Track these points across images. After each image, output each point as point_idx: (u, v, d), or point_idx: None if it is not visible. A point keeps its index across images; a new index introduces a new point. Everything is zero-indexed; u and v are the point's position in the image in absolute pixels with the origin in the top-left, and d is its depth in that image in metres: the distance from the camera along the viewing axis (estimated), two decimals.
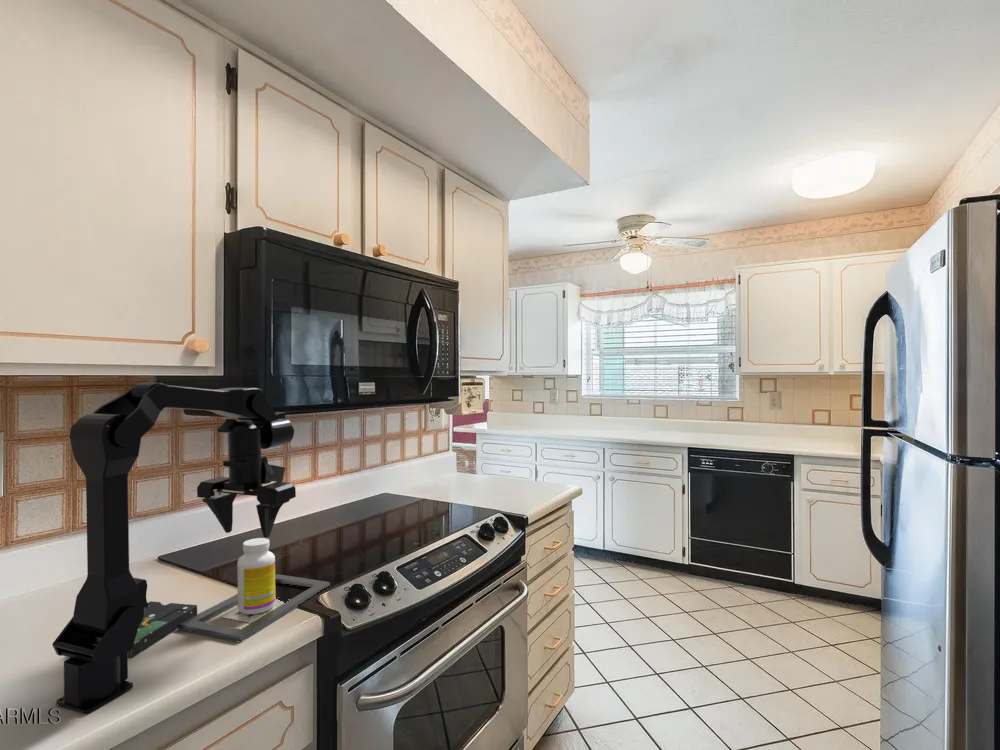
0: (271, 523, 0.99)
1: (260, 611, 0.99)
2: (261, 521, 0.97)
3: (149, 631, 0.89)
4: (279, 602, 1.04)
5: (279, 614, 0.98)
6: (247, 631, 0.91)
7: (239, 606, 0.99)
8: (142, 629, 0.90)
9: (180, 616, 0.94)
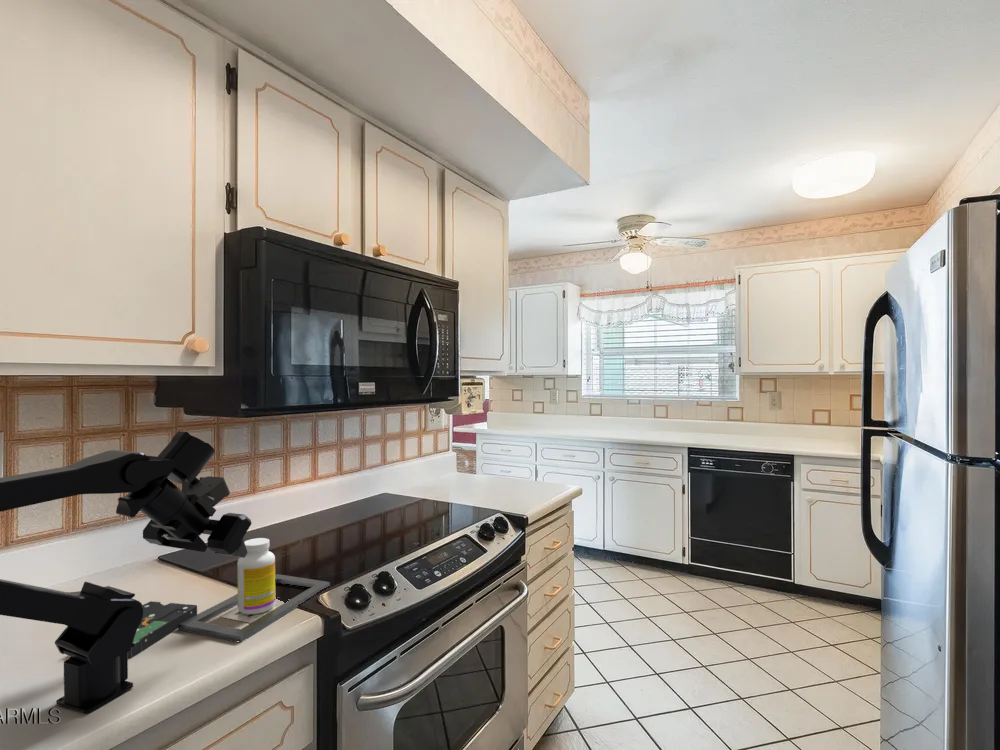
0: (242, 547, 0.91)
1: (260, 611, 0.99)
2: None
3: (149, 631, 0.89)
4: (279, 602, 1.04)
5: (279, 614, 0.98)
6: (247, 631, 0.91)
7: (239, 606, 0.99)
8: (142, 629, 0.90)
9: (180, 616, 0.95)
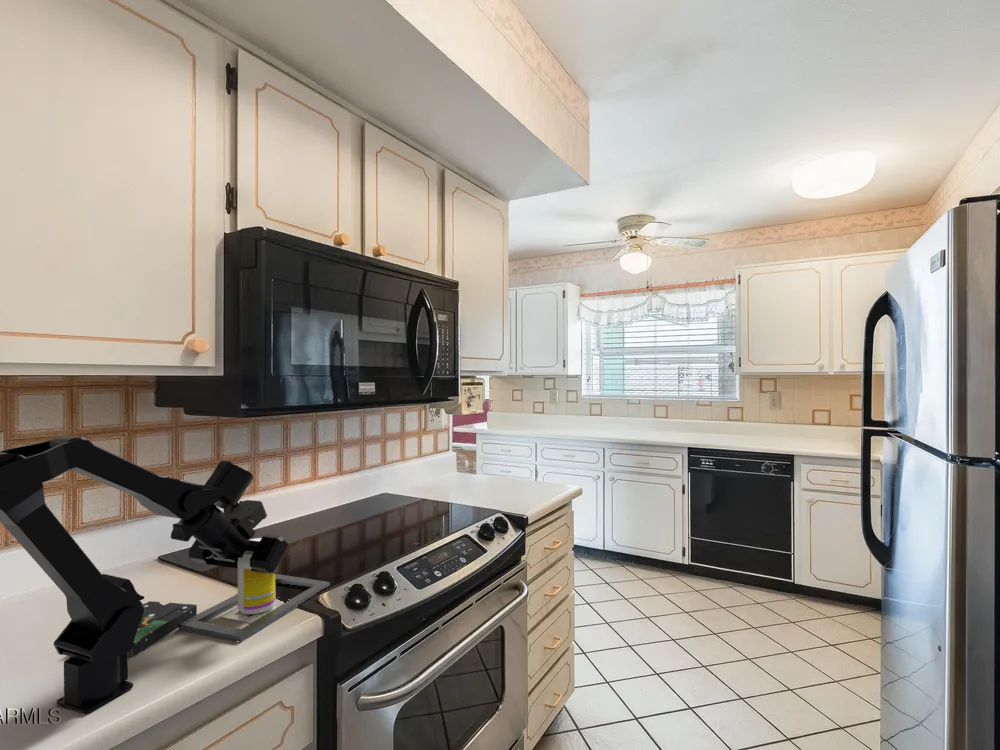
0: None
1: (260, 611, 0.99)
2: None
3: (149, 631, 0.89)
4: (279, 602, 1.04)
5: (279, 614, 0.98)
6: (247, 631, 0.91)
7: (239, 606, 0.99)
8: (142, 628, 0.90)
9: (180, 616, 0.95)
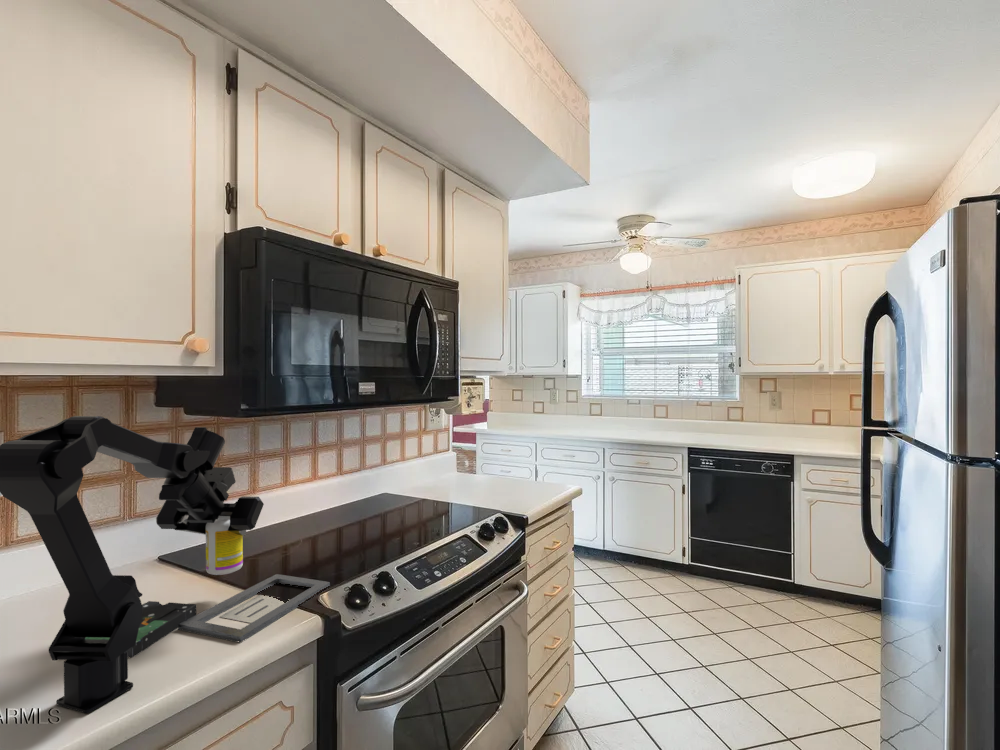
0: None
1: (231, 571, 1.05)
2: (236, 533, 1.04)
3: (149, 631, 0.89)
4: (279, 602, 1.04)
5: (279, 614, 0.98)
6: (247, 631, 0.91)
7: (209, 568, 1.04)
8: (142, 628, 0.90)
9: (180, 615, 0.95)
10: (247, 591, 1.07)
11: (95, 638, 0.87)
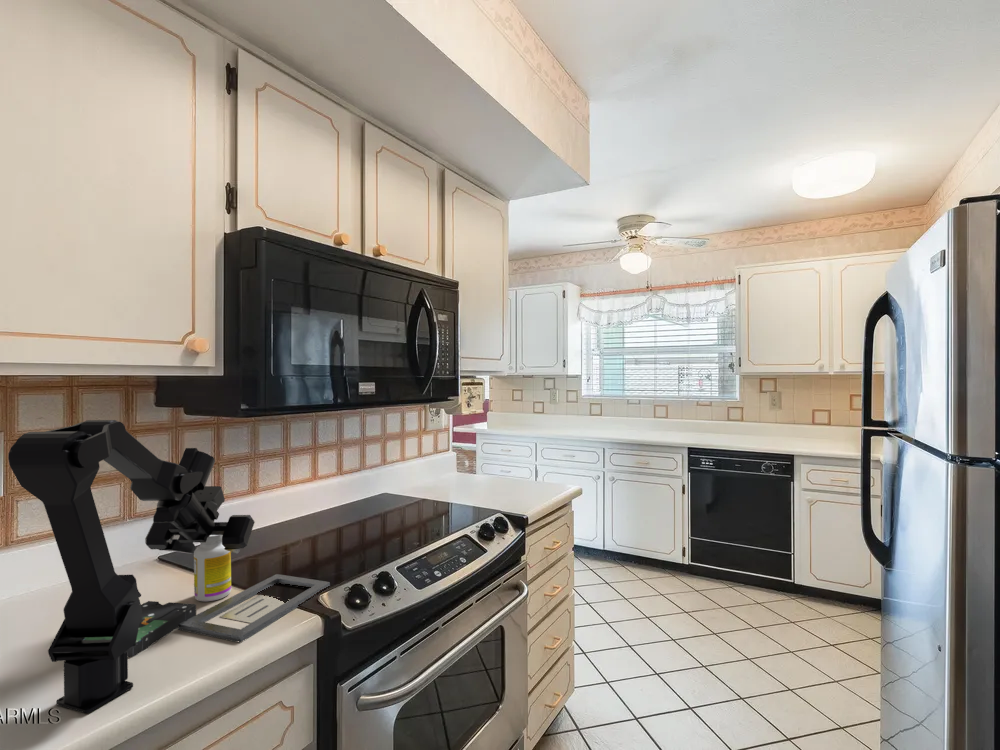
0: None
1: (221, 597, 1.06)
2: (232, 551, 1.05)
3: (149, 630, 0.89)
4: (279, 602, 1.04)
5: (279, 614, 0.98)
6: (247, 631, 0.91)
7: (198, 595, 1.04)
8: (143, 628, 0.90)
9: (180, 615, 0.95)
10: (247, 591, 1.07)
11: (95, 638, 0.87)
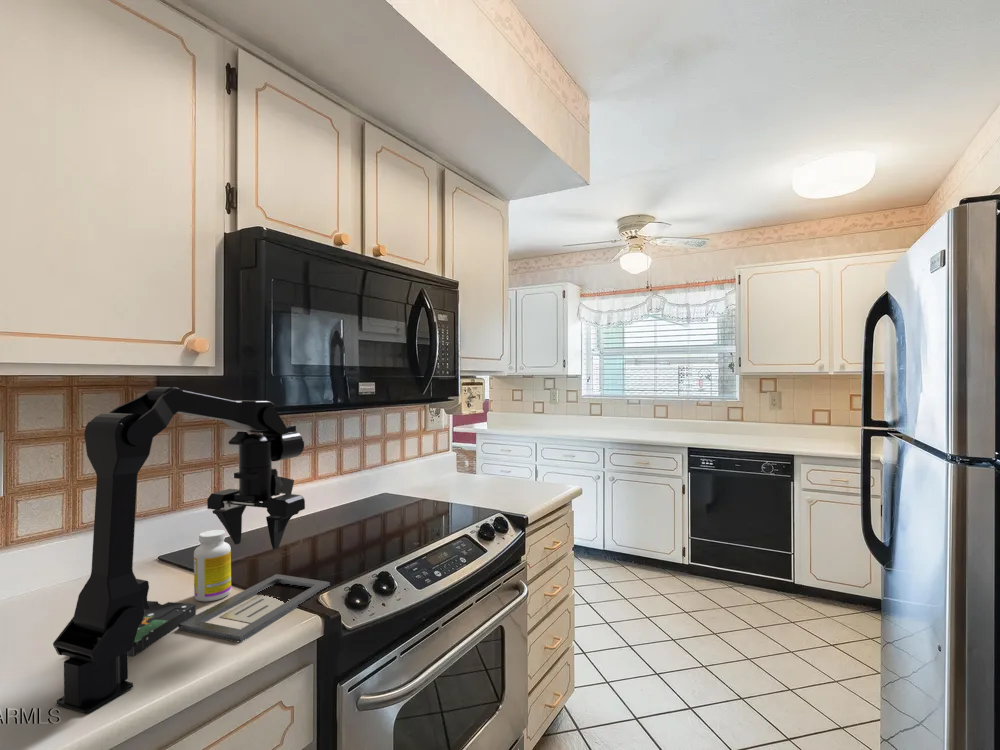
0: (280, 535, 1.00)
1: (221, 597, 1.06)
2: (270, 533, 0.98)
3: (149, 630, 0.89)
4: (279, 602, 1.04)
5: (279, 614, 0.98)
6: (247, 631, 0.91)
7: (198, 595, 1.04)
8: (143, 627, 0.90)
9: (180, 615, 0.95)
10: (247, 591, 1.07)
11: None
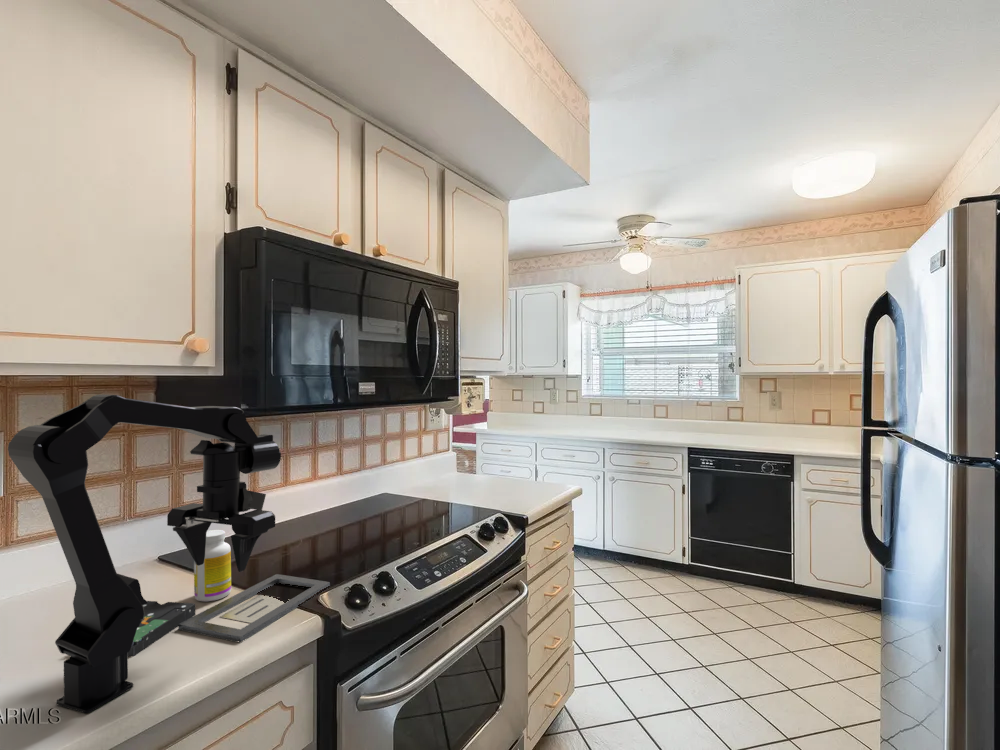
0: (247, 555, 0.90)
1: (221, 597, 1.06)
2: (236, 553, 0.88)
3: (149, 630, 0.89)
4: (279, 602, 1.04)
5: (279, 614, 0.98)
6: (247, 631, 0.91)
7: (198, 595, 1.04)
8: (143, 627, 0.90)
9: (179, 614, 0.95)
10: (247, 591, 1.07)
11: None
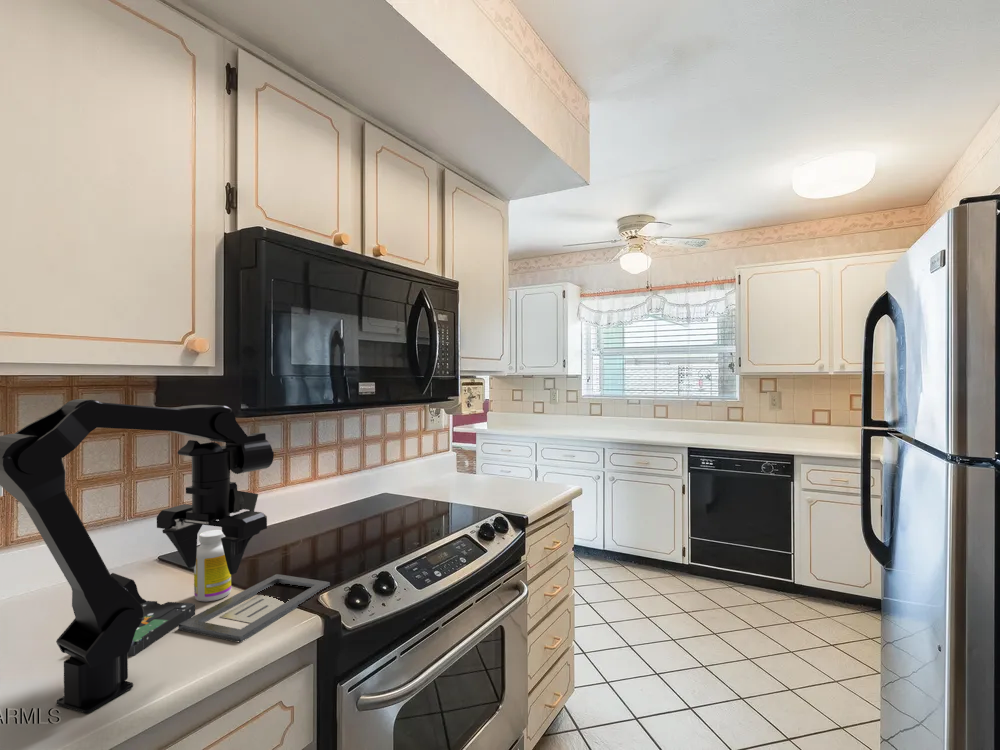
0: (238, 558, 0.88)
1: (221, 597, 1.06)
2: (227, 556, 0.86)
3: (150, 630, 0.89)
4: (279, 602, 1.04)
5: (279, 614, 0.98)
6: (247, 631, 0.91)
7: (198, 595, 1.04)
8: (143, 627, 0.90)
9: (179, 614, 0.95)
10: (247, 591, 1.07)
11: None
